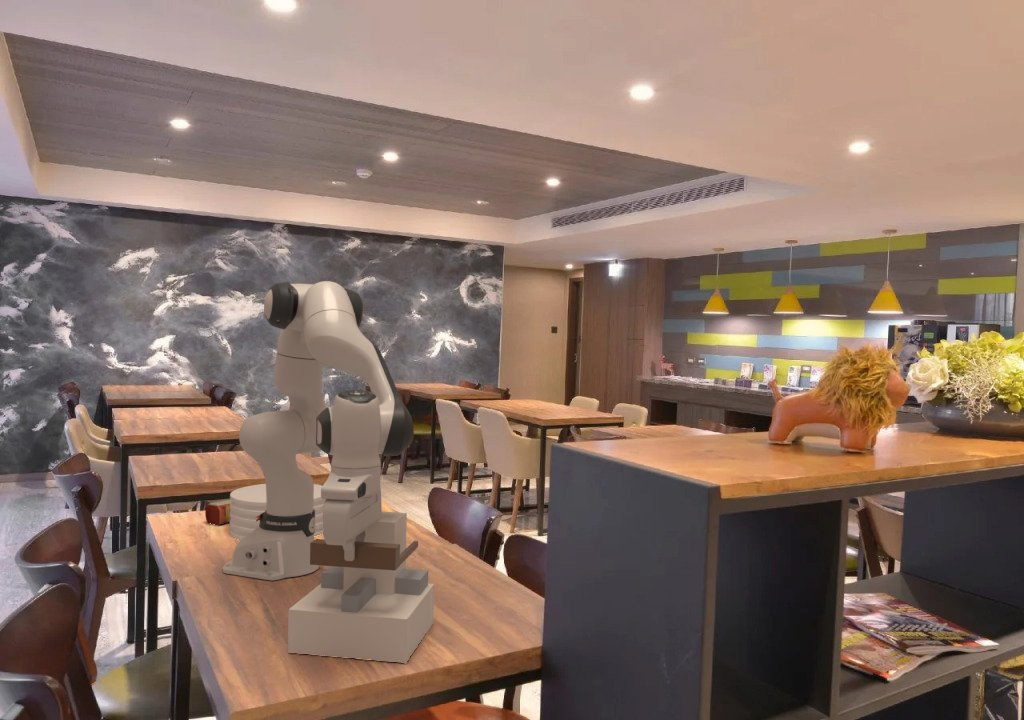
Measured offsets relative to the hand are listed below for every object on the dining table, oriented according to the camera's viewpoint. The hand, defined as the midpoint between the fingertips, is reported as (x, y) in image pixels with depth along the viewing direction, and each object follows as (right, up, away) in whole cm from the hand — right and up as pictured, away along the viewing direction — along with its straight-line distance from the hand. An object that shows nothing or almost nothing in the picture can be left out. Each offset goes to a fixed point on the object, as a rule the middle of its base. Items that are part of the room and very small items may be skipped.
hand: (354, 556), depth 133 cm
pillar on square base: (0, -17, +6) cm, 19 cm away
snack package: (-56, -14, +95) cm, 111 cm away
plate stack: (-39, -15, +82) cm, 92 cm away
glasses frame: (+1, -1, +6) cm, 7 cm away
